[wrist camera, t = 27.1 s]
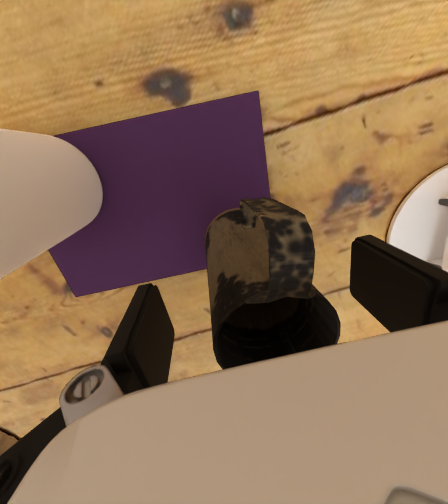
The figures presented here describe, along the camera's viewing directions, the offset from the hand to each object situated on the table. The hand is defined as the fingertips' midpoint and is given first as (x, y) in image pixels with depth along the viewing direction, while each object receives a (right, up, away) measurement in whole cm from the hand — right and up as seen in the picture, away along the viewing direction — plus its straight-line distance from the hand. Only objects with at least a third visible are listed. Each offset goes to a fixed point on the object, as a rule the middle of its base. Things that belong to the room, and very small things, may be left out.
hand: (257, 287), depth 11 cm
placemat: (-7, +5, +7) cm, 11 cm away
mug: (-1, +4, +8) cm, 9 cm away
